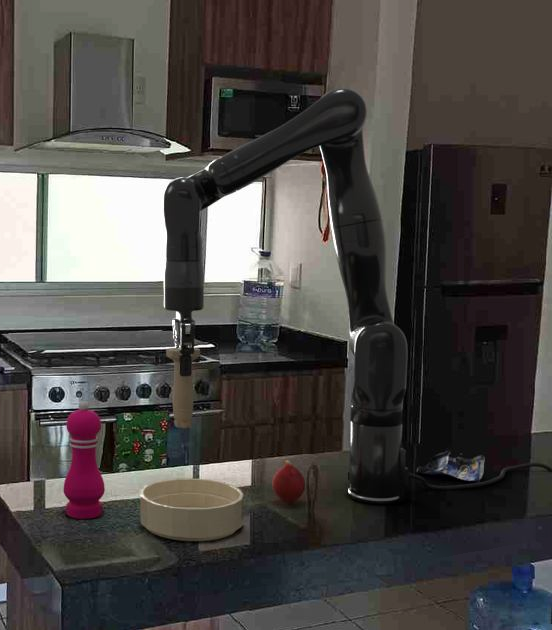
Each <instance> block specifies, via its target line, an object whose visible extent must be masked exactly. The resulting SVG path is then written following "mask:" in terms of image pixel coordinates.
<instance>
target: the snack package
mask: <svg viewBox="0 0 552 630" xmlns="http://www.w3.org/2000/svg"><path fill="white" fill-rule="evenodd" d="M451 453H452V452H451V451H450V450H445V451H444V452H439V453H436V454H434V455H433V456H431V458H430V460H429V462H428V463H427V464H425V466H418V467H417V468H416V473H417V474H420V475H421V474H425V475H432V476H437V475H438V476H447V477H451V478H455V479H458V480H461V481H465V482H475V483H480V482H481V479H482V478H483V475H484V469H485V461H486V460H485V457H486V456H484V455H483V454H479V455H477V456H474V457H473V458H464V457H461V456H462V455H463V453H460V456H458V457H452V456H451ZM449 455H450V456H449Z"/></svg>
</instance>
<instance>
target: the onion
mask: <svg viewBox="0 0 552 630" xmlns="http://www.w3.org/2000/svg"><path fill="white" fill-rule="evenodd" d="M271 486H272V490H273V492H274V494H275V495H276V496H277V497H278V498H279V499H280V500H281V501H282V502H283V503H284V504H285V505H291V504H292V503H294V502H296V501H297V500H299V499H300V498H301V497H302V496H303V494H304V492H305V489H306V481H305V478H304V476H303V474H302V472H301V471H300V470H299V469H298V468H297V467H295V466H294V465H293V464H292V463H291V462H290V461H289V460H285V462H284V465H283V466H282V467H280V468H278V470H277V471H276V473H275V474H274V475H273V477H272V481H271Z"/></svg>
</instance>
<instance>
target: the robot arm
mask: <svg viewBox="0 0 552 630" xmlns="http://www.w3.org/2000/svg"><path fill="white" fill-rule="evenodd" d="M367 115H368V109H367V104H366V102H365V100H364V98H363V97H362V95H360V94H359V93H358V92H357V91H355V90H353V89H350V88H345V87H343V88H341V87H340V88H335V89H332V90H329V91H327V92H326V93H324V94H323V95H322V96H321V97H320V98H319V99H318V100H316V101H315V102H314V103H313V104H311V105H310V106H309V107H307V108H306V109H305V110H303V111H302V112H300V113H299V114H298V115H296V116H294V117H293V118H291V119H290V120H288V121H286V123H285V122H284V124H282V125H280V126H278V127H276V128H275V129H273V130H271V131H269V132H266V133H265V134H263V135H261V136H259V137H257V138H255V139H253V140H251V141H249V142H247V143H245V144H243V145H240V146H239V147H237V148H235V149H233V150H231V151H229V152H227V153H226V154H224V155H222V156H220V157H217V158H216V159H214V160H213V161H212V162H210V163H209V164H208V166H206V167H205V168H204V169H201V170H200V171H198V172H196V173H194V174H192V175H189V176H188V177H184V176H183V177H177V178H174V179H172V180H171V181H170V182H169V183H168V184H167V185H166V187H165V188H164V191H163V197H162V208H163V218H164V228H165V242H164V243H165V246H164V249H165V250H164V252H165V253H164V254H165V256H164V259H165V260H164V261H165V262H164V263H165V264H164V268H163V269H164V270H163V307H164V310H166V311H171V312H175V317H173V318H172V323H171V324H172V339H173V348H179V352H178V354H179V374H180V375H181V376H191V374H192V375H193V361H192V357H191V356H192V355H193V354H194V348H195V339H196V338H195V333H196V332H195V329H196V320H194V318H193V316H192V315H193V313H192V312H195V311H196V312H197V311H202V310H204V305H205V304H204V303H205V302H204V300H205V299H204V298H205V297H204V295H205V292H204V290H205V289H204V285H205V282H204V281H205V277H204V275H205V273H204V265H203V236H202V233H201V212H202V211H203V210H205V209H207V208H209V207H210V206H212V205H213V204H215V203H217V202H218V201H219V200H221V199H223V198H224V197H226V196H229V195H232V194H234V193H236V192H237V191H240V190H242V189H244V188H246V187H248V186H251V184H254V183H256V182H258V181H259V180H261V179H262V178H264V177H266V176H267V175H269V174H271V173H272V172H274V171H275V170H277V169H279V168H281V166H283V165H284V164H286V163H288V162H290V161H291V160H293V159H295V158H297V157H299V156H300V155H302V154H304V153H306V152H309V151H312V150H313V149H315V148H316V149H317V148H318V147H319V150H320V153H321V156H322V160H323V165H324V169H325V175H326V185H327V186H326V187H327V206H328V215H329V223H330V228H331V229H330V231H331V236H332V243H333V247H334V252H335V256H336V260H337V265H338V270H339V274H340V277H341V281H342V284H343V287H344V292H345V295H346V302H347V313H348V314H347V315H348V326H349V327H348V328H349V329H348V330H349V331H348V332H349V347H350V350H351V353H352V355H353V357H354V358H353V360H354V362H353V365H354V366H353V384H352V389H351V392H350V422H349V423H350V425H349V426H350V427H349V432H350V433H349V467H348V468H349V469H348V472H347V481H348V489H347V490H348V491H347V493H348V497H349V498H351V499H353V500H354V501H357V502H361V503H365V504H371V505H372V504H373V505H390V504H395V503H398V502H405V499H406V498H405V495H406V493H405V491H406V487H407V486H409V482H410V481H409V479H410V478H411V479H415V480H418V481H419V482H421V483H422V484H423V486H424V487H425V488H427V489H431V490H448V491H449V490H450V491H452V490H453V491H454V490H464V489H471V488H480V487H484V486H489V485H492V484H495V483H497V482H499V481H501V480H503V479H504V477H505V475H506V473H507V472H510V471H515V470H519V469H525V468H532V467H538V468H543V469H544V470H547V471H548V473H549V472H550V473H552V467H551V466H549V465H548V464H544V463H541V462H528V463H522V464H518V465H512V466H508V467H504V468H502V470H500V474H499V475H498V476H496V477H493V478H492V479H487V480H485V481H479V483H478V482H474V483H473V482H472V483H466V484H465V483H464V484H457V485H446V486H445V485H434V484H431V483H428V482H427V480H426V479H425V478H424V477H423V476H420V475H419V474H415V473H410V469H409V468H408V467H407V466H406V461H407V457H406V456H407V451H406V449H404V448H403V447H402V446H403V415H404V414H403V411H404V397H405V394H406V389H407V375H408V372H407V371H408V342H407V338H406V336H405V333H404V332H403V330H401V328H400V327H399V326H398V325H396V324H395V322H394V319H393V315H392V312H391V307H390V303H389V299H388V298H389V297H388V293H387V259H388V257H387V256H388V254H387V253H388V252H387V251H388V250H387V239H386V238H387V237H386V232H385V226H384V219H383V215H382V210H381V207H380V203H379V200H378V197H377V193H376V190H375V188H374V184H373V182H372V180H371V176H370V173H369V171H368V167H367V162H366V155H365V154H366V153H365V146H364V145H365V144H364V125H365V123H366V121H367ZM550 606H551V607H550V608H551V610H550V624H552V605H550Z"/></svg>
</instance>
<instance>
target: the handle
mask: <svg viewBox="0 0 552 630" xmlns="http://www.w3.org/2000/svg"><path fill="white" fill-rule="evenodd" d="M178 352H179V348H175V347H173V348H167V349H166V357H167V358H169V359H170V360H172V361H173V365H174V367H173V369H174V370H173V384H172V385H173V388H172V412H173V413H172V414H173V418H174V420H173V423H174V424H173V425H174V427H176V428H177V429H188V428H191V427H192V424H193V420H192V418H193V414H194V383H193V382H194V381H193V373H192V374H191V376H181V375H180V374H179V354H178ZM200 356H201V349H200V348H197V347H194V354H193V355H192V356H191V357H192V362H193V361H195V360H196V359H198V358H200Z"/></svg>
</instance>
